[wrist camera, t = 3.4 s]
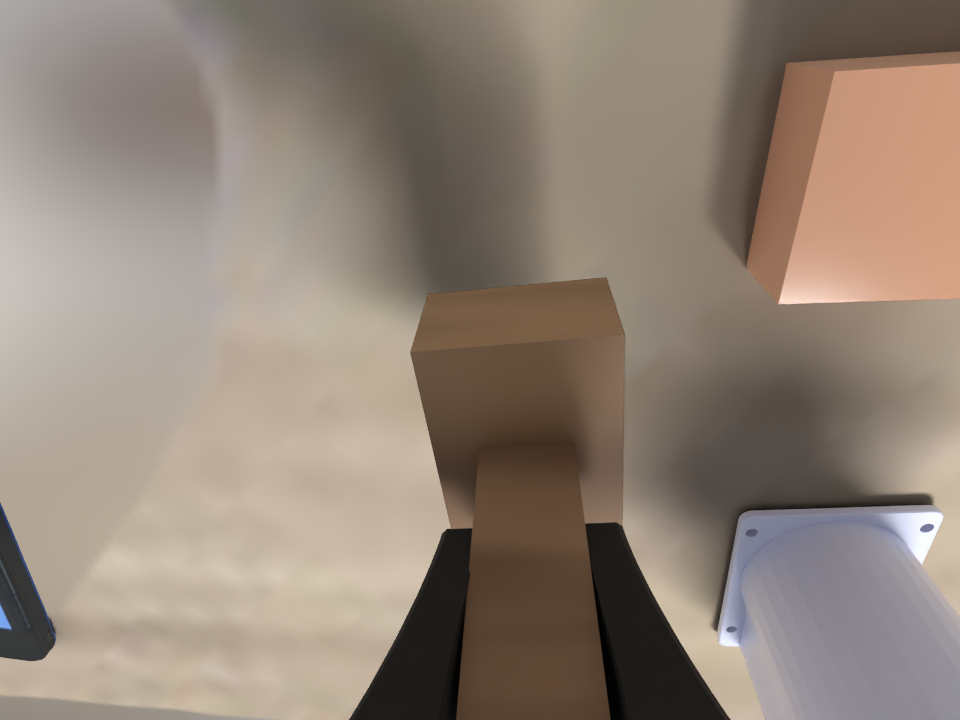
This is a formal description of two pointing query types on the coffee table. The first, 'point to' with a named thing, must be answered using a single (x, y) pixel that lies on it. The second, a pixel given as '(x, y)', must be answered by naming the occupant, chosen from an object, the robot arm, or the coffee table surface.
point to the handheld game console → (20, 604)
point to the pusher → (527, 483)
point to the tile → (862, 182)
